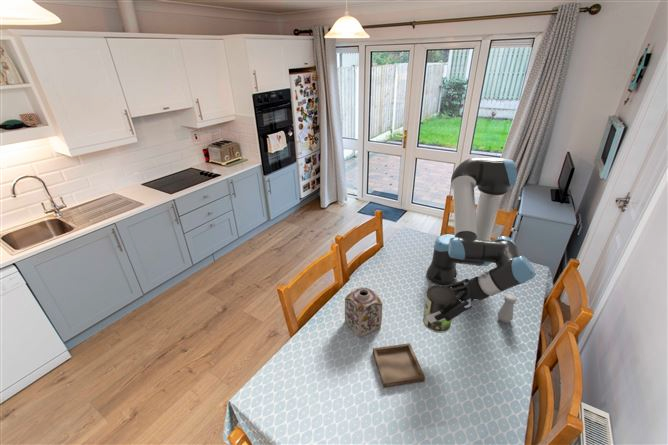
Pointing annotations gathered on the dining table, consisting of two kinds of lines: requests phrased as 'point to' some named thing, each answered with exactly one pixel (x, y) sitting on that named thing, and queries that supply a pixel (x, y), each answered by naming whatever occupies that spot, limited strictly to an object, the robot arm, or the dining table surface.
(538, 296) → the dining table surface
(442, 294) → the coffee can
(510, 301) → the salt shaker
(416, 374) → the holder tray
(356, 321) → the decorative jar
